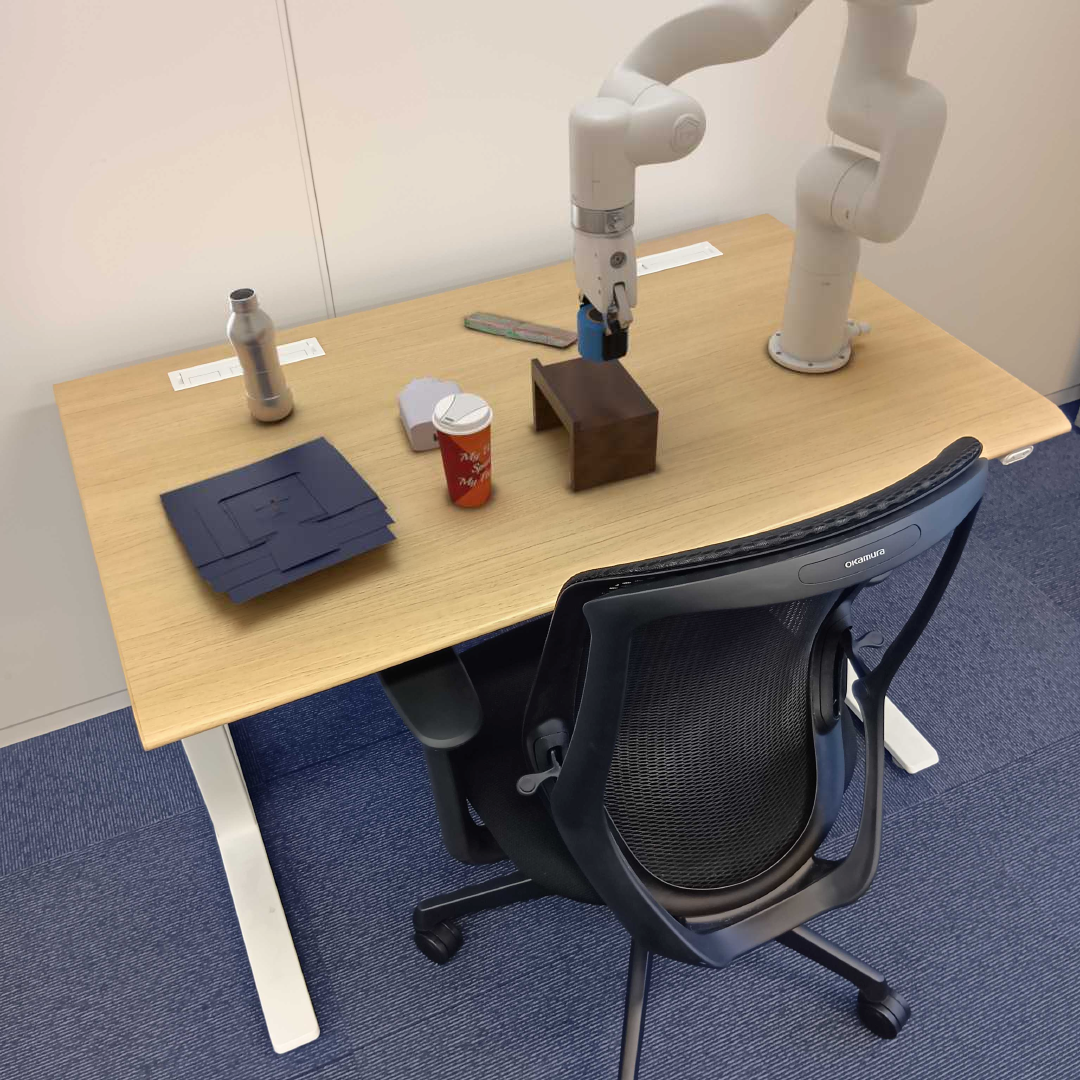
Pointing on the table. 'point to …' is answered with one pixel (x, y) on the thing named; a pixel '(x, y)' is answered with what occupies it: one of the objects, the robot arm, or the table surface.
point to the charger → (423, 409)
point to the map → (520, 329)
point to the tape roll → (592, 332)
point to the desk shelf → (597, 418)
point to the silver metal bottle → (258, 357)
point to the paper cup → (465, 447)
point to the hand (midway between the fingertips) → (602, 342)
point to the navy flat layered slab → (277, 520)
